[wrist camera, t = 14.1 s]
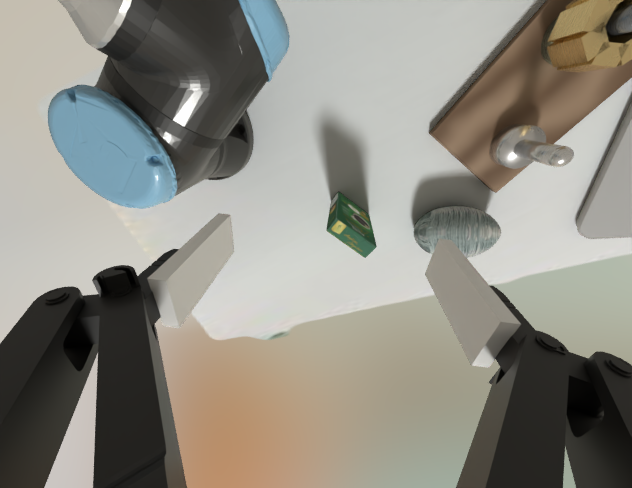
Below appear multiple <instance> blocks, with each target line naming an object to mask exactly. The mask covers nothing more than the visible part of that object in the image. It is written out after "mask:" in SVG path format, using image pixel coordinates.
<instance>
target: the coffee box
mask: <svg viewBox="0 0 632 488" xmlns="http://www.w3.org/2000/svg"><path fill="white" fill-rule="evenodd" d="M327 231H328V232H329V233H330V234H332V235H333V236H335V237H336V238H338V239H339V240H340V241H342V242H343V243H344V244H346V245H347V246H349V247H350V248H352V249H353V250H354V251H356V252H357V253H359V254H360V255H362V256H363V257H365V258H366V257H367V256H368V255H369V254H370V253H371V252H372V251H373V250H374V249H375V248H376V242H375V238H374V234H373V229H372V225H371V221H370V217H369V214H367V213H366V212H365V211H364V210H362V209H361V208H360V207H358V206H357V205H356V204H354V203H353V202H352V201H350V200H349V199H348V198H346V197H345V196H344V195H342V194H341V193H340V192H338V193H337V194H336V196H335V197H334V198H333V200H332V201H331V205H330V212H329V218H328V224H327Z"/></svg>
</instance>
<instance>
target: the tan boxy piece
mask: <svg viewBox="0 0 632 488" xmlns="http://www.w3.org/2000/svg"><path fill="white" fill-rule="evenodd" d="M630 4H632V0H573V1H572V2H571V3H569V4H568V5H567V6H565V8H566V10H565V11H563V12H561V13H560V15H559V17H558V19H557V21H556V24H555V26H554V28H553V30H552V33H551V35H550V37H549V39H548V41H547V42H553V43H552V44H550V45H549V46H548V47H547V50H548V53H549V56H550V59H551V62H552V65H553V68H554V67H558V68H557V70H559V71H569V72H585V71H592V70H600V69H607V68H614V67H617V66H621V65H624V64H625V63H627V62H628V61H630V60H632V32H628V33H624V34H620V35H616V36H612V37H608V36H607V32H606V28H605V26H606V24H607V22H608V20H609V19H610V17H611V15H612V13H613V11H614V10H616V9H619V8H621V7H624V6H627V5H630Z"/></svg>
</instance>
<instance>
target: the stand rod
mask: <svg viewBox="0 0 632 488" xmlns="http://www.w3.org/2000/svg"><path fill="white" fill-rule="evenodd" d="M489 153H490V157H491V159H492V160H493V161H494V162H495V163H497V164H500V165H503V166H505V167H508V168H512V169H517V168H522V167H525V166H527V165H529V164H531V163H532V162H533V161H536V162H539V163H542V164H546V165H549V166H553V167H561V166H564V165H566V164H568V163H569V162H570V161H571V160H572V159H573V156H574V152H573V150H572V149H571V148H569V147H566V146H561V145H555V144H550V143H546V135H545V132H544V131H543V130H542V129H541V128H540V127H537V126H532V125H523V124H514V125H510V126H508V127H506V128H504V129H502V130H501V131H500V132H499V133H498V134H497V135H496V136H495V137H494V139H493V140H492V142H491V145H490V149H489Z"/></svg>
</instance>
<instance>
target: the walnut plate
mask: <svg viewBox="0 0 632 488" xmlns="http://www.w3.org/2000/svg"><path fill="white" fill-rule="evenodd" d="M572 1H573V0H547V1H546V2H545V3H544V4H543V5H542V6H541V7H540V9H539V10H538V11H537V12H536V13H535V14H534V15H533V16H532V18H531V19H530V20H529V21H528V22H527V23H526V24H525V25H524V27H523V28H522V29H521V30H520V31H519V32H518V33H517V34H516V36H515V37H514V38H513V39H512V40H511V41H510V42H509V43H508V45H507V46H506V47H505V48H504V49H503V50H502V51H501V52H500V54H499V55H498V56H497V57H496V58H495V59H494V60H493V61H492V63H491V64H490V65H489V66H488V67H487V68H486V69H485V70H484V72H483V73H482V74H481V75H480V76H479V77H478V78H477V79H476V81H475V82H474V83H473V84H472V85H471V86H470V87H469V88H468V90H467V91H466V92H465V93H464V94H463V95H462V96H461V97H460V99H459V100H458V101H457V102H456V103H455V104H454V105H453V106H452V108H451V109H450V110H449V111H448V112H447V113H446V114H445V115H444V117H443V118H442V119H441V120H440V121H439V122H438V123H437V124H436V126H435V127H434V128H433V129H432V130H431V131H430V132H429V134H430V135H431V136H433V137H434V138H435V139H436V140H437V141H438V142H439V143H440V144H441V145H442V146H443V147H445V148H446V149H447V150H448V151H449V152H450V153H451V154H452V155H453V156H454V157H456V158H457V159H458V160H459V161H460V162H461V163H462V164H463V165H464V166H465V167H466V168H468V169H469V170H470V171H471V172H472V173H473V174H474V175H475V176H476V177H477V178H478V179H480V180H481V181H482V182H483V183H484V184H485V185H486V186H487V187H488V188H489V189H490V190H492V191H494V192H495V193H496V192H497V191H499V190H500V189H501V188H502V187H503V186H505V185H506V184H507V183H508V182H509V181H510V180H512V179H513V178H514V177H515V176H516V175H517V174H519V173H520V172H521V171H522V170H523V169H525V168H526V167H527V166H528V165H527V166H525V167H522V168H517V169H512V168H508V167H505V166H503V165H500V164H497V163H495V162H494V161H493V160H492V159H491V157H490V153H489V149H490V145H491V142H492V140H493V139H494V137H495V136H496V135H497V134H498V133H499V132H500V131H501V130H502V129H504V128H506V127H508V126H510V125H514V124H523V125H532V126H537V127H540V128H541V129H542V130H543V131H544V132H545V135H546V143H550V144H554V143H555V142H556V141H557V140H559V139H560V138H561V137H562V136H563V135H565V134H566V133H567V132H568V131H569V130H570V129H572V128H573V127H574V126H575V125H576V124H577V123H579V122H580V121H581V120H582V119H583V118H584V117H586V116H587V115H588V114H589V113H590V112H592V111H593V110H594V109H595V108H596V107H597V106H599V105H600V104H601V103H602V102H603V101H604V100H606V99H607V98H608V97H609V96H610V95H612V94H613V93H614V92H615V91H616V90H617V89H619V88H620V87H621V86H622V85H623V84H624V83H626V82H627V81H628V80H629V79H630V78H632V60H630V61H628V62H627V63H625V64H624V65H621V66H617V67H614V68H607V69H600V70H592V71H585V72H569V71H559V70H557V68H558V67H554V68H553V65H551V64H548V63H547V62H546V61H545V60H544V59H543V57H542V54H541V44H542V40H543V37H544V34H545V32H546V30H547V29H548V27H549V26H550V24H551V23H552V22H553V21H554V19H555V18H556V17H557V16H559V15H560V13H561V12H563V11H565V10H566V8H565V6H567V5H568V4H569V3H571V2H572Z"/></svg>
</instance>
